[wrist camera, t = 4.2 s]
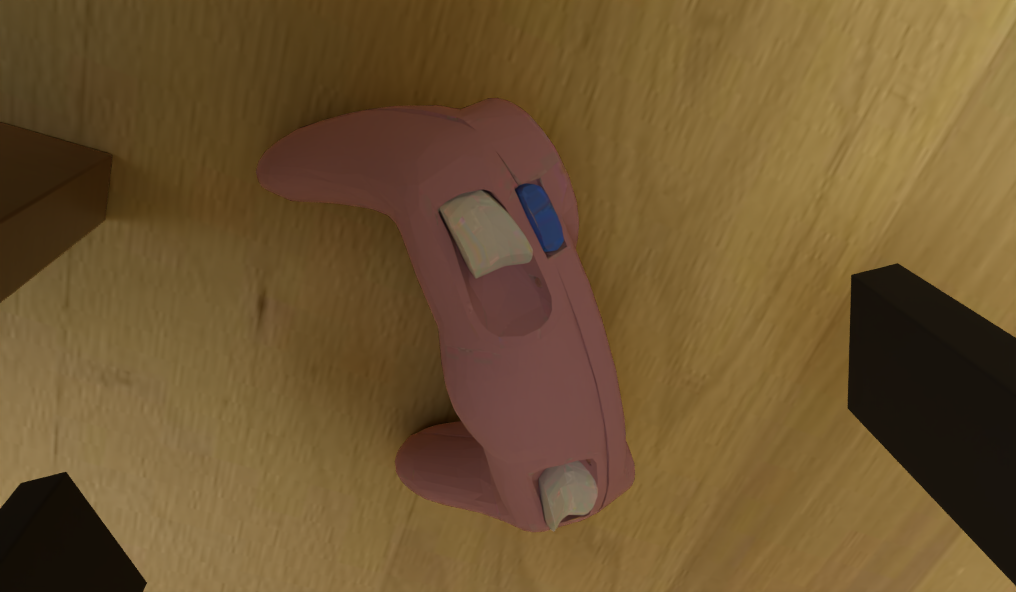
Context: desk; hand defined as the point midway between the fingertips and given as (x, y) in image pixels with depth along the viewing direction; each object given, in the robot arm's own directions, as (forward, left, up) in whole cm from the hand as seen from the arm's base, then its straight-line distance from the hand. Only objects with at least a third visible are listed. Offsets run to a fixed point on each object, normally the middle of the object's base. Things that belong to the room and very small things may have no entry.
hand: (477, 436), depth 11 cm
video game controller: (0, 0, -6) cm, 6 cm away
